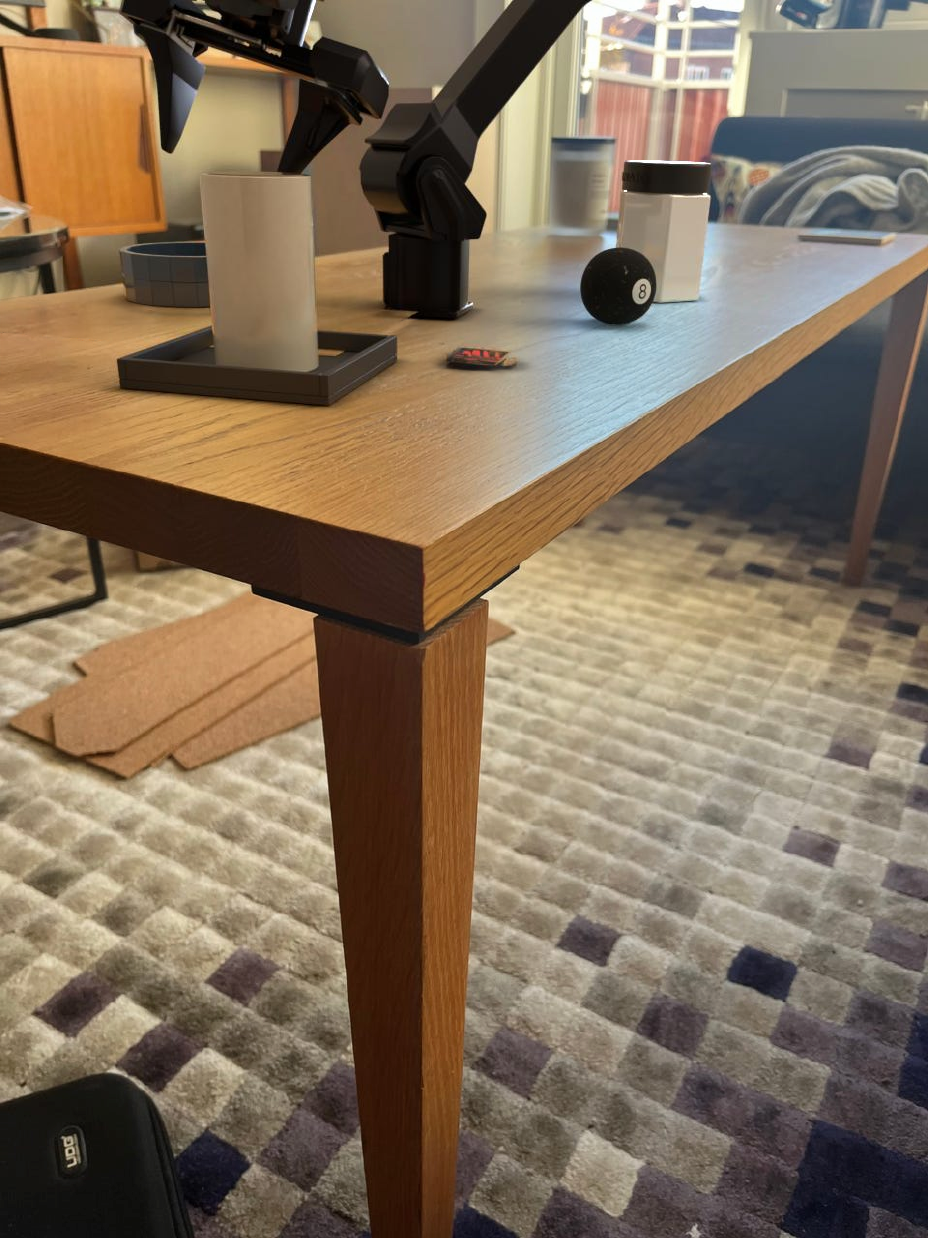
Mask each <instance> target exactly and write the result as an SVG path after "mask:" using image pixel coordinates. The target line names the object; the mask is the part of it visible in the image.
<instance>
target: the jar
mask: <svg viewBox="0 0 928 1238" xmlns="http://www.w3.org/2000/svg"><path fill="white" fill-rule="evenodd" d="M712 171H713V164H712V163H710V162H698V161H696V162H695V161H675V160H674V161H673V160H672V161H671V160H625V161H624V162H623V170H622V173H621V191H620V195H619V208H618V219H617V220H618V221H617V228H616V241H615V242H616V243H615V248H618V247H622V248H629V249H633V250H635V251H638V252H639V253H641V254H642V255H644V256H645V257H646V258H647V259H648V260H649V261H650V263H651V265H652V266H653V269H654V271H655V275H656V283H657V287H656V294H655V297H654V300H653V303H658V304H659V303H660V304H661V303H662V304H663V303H677V302H693V301H694V302H695V301H697V300H699V298H700V297H699V296H700V288H701V282H702V281H701V280H702V271H703V263H704V257H705V256H704V255H705V248H706V247H705V246H706V245H705V244H706V239H707V232H708V231H707V230H708V222H709V214H710V206H711V199H712V197H711V195H710V194H709V193H710V186H711V179H712V177H711V176H712Z"/></svg>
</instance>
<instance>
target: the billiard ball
mask: <svg viewBox="0 0 928 1238" xmlns="http://www.w3.org/2000/svg"><path fill="white" fill-rule="evenodd" d="M656 287H657V283H656V275H655V271H654V269H653V266H652V265H651V263H650V261H649V260H648V259H647V258H646V257H645V256H644V255H642V254H641V253H639V252H638V251H635V250H633V249H629V248H622V247H618V248H616V247H611V248H607V249H604V250H602V251H600V252H599V253H597V254H595V255H594V256H593V257H592V258H591V259H590V260H589V261H588V263H587V264H586V265H585V267H584V270H583V272H582V274H581V278H580V283H579V291H580V297H581V302H582V304H583V306H584V308H585V310H586V311H587V313H588V314H589V315H590V316H591V317H592V318H593V319H595V320H596V321H598V322H600V323H603V324H606V325H610V326H624V325H628V324H631V323H634V322H636V321H638V320H639V319H642V317H643V316H645V314H646V313H647V312H648V311H649V310H650V308H651V306H652V304H653V303H654V302H653V300H654V297H655V294H656Z"/></svg>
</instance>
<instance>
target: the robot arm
mask: <svg viewBox="0 0 928 1238" xmlns="http://www.w3.org/2000/svg"><path fill="white" fill-rule="evenodd" d="M197 1H198V0H121V2H120V5H119V10H118V13H119V15H120V16H122V17H123V18H124V19H126V20H127V21H128V22H129V23H130V24H132V29H133V33H134V35H135V36H136V37H137V38H139V39H140V40H142V42H144V43H145V45H146V47H147V49H148V53H149V54H150V57H151V61H152V64H153V70H154V75H155V81H156V82H155V83H156V90H157V93H156V94H157V109H158V123H159V138H160V148H161V150H162V151H164V152H165V153H167V154H170V155H172V154H173V153H174V151H175V150H176V147H177V145H178V143H179V141H180V140H181V138H182V135H183V132H184V130H185V127H186V124H187V121H188V118H189V116H190V113H191V110H192V108H193V104H194V102H195V99H196V96H197V94H198V91H199V88H200V86H201V82H202V80H203V77H204V74H205V71H206V67H207V66H205V65H204V64H202V62H201V61H199V60H198V59H197V58H198V57H200V56H201V55H202V54H204V53H206V52H207V51H208V50H209V48H212V49H215V50H218V51H220V52H224V53H226V54H230V55H233V56H236V57H238V58H242V59H244V60H247V61H251V62H253V63H256V64H260V65H262V66H265V67H269V68H271V69H274V70H278V71H281V72H283V73H287V74H290V75H293V76H296V77H299V80H298V95H297V96H298V100H297V110H296V114H295V116H294V120H293V123H292V125H291V128H290V130H289V134H288V137H287V140H286V143H285V145H284V147H283V148H284V149H283V151H282V153H281V154H282V155H281V157H280V160H279V164H278V166H277V169H276V170H277V171H276V172H285V173H299V174H303V172H304V171H305V169H306V168H307V167H309V165H310V164H311V163H312V161H313V160H314V159H315V158H316V157H317V156H318V154H319V153H320V152H322V150H324V148H326V146H328V144H330V143H331V142H332V141H333V140H335V138H337V137H338V136H339V135H340V134H341V133H342V132H343V131H344V130H345V129H346V128H347V127H348V126H350V125H353V126H357V127H358V126H359V127H360V126H362V124H363V120H364V118H363V117H362V115H364V116H367V117H370V118H372V119H374V120H375V119H376V120H382V119H383V115H384V112H385V110H386V105H387V102H388V99H389V96H390V84H389V80H388V79H387V76H386V74H385V73H384V72H383V70H382V69H381V67H380V66H379V65H378V63H377V62H376V61H375V60H374V58H373V57H372V56H371V54H370V53H369V51H368V50H366V49H362V48H359V47H357V46H353V45H350V44H347V43H344V42H341V41H338V40H335V39H332V38H329V37H326V36H323V35H322V36H320V38H319V39H318V40H316V41H315V43H313V45H312V48H311V45H310V44H309V43H308V42H307V41H306V40H305V38H306V35H307V31H308V28H309V24H310V22H311V17H312V14H313V11H314V8H315V5H316V2H317V1H318V2H320V3H321V2H322V3H325V0H202V1H203V2H204V4H205V5H206V6H207V7H208V8H209V9H210V10H212V11H213V12H215V13H218V14H219V15H220V18H216V17H214V16H211V15H209V14H207V13H206V12H205V11H203V9H201V8H200V7H199V6H198V5H197V4H196V3H195V2H197ZM592 1H593V0H511V1H510V3H509V4H508V5H507V6H506V8H505V9H504V10H503V12H502V13H501V14H500V16H498V18H497V19H496V20H495V21H494V23H493V24H492V25H491V27H490V28H489V29H487V31H486V33H485V34H484V35H483V37H482V38H481V39H480V40H479V41H478V43H477V44H476V46H475V47H474V48H473V49H472V50H471V52H470V53H469V54H468V55H467V57H466V58H465V59H464V61H463V62H462V63H461V64H460V66H459V67H458V68H457V69H456V71H455V72H454V73H453V74H452V75H451V77H450V78H449V79H448V80H447V82H446V83H445V84H444V86H442V88H441V89H440V90H439V92H438V93H437V94H436V96H435V97H434V98H433V99H432V100H431V101H429V102H397V103H395V104H394V105H393V106H392V108H391V109H390V110H389V112H387V115H386V116H385V118H384V120H383V122H382V124H381V126H380V127H379V128H378V129H377V130H376V131H375V132H374V133H373V134H371V135H369V136H367V137H365V138H364V141H363V142H364V143H365V144H366V145H369V147H368V148H367V149H366V151H365V152H364V154H363V156H362V157H361V159H360V163H359V166H358V170H359V173H360V174H359V175H360V176H359V177H360V179H359V180H360V186H361V188H362V189H361V190H362V193H363V196H364V197H365V199H366V200H367V202H368V204H369V205H370V206H371V207H373V209H374V210H373V211H374V213H375V216H376V219H377V222H378V225H379V226H378V227H379V229H380V230H381V232H383V233H391V234H388V245H387V246H388V251H385V252H384V253H383V254H382V302H383V304H384V305H386V306H383V307H382V310H386V311H387V310H389V311H390V310H391V311H402V312H403V311H405V312H415V313H413V314H411V316H413V317H415V316H416V317H430V318H445V319H457V318H459V317H460V316H462V315H464V314H465V313H467V312H469V311H470V310H472V309H473V308H474V302H473V301H469V280H470V279H469V277H470V241H472V240H480V238H481V236H482V233H483V230H484V226H485V223H486V220H487V217H488V216H487V215H488V214H487V211H486V209H485V208H484V207H483V206H482V204H481V203H480V202H479V201H478V199H477V198H476V197H475V195H474V194H473V192H472V191H471V190H470V188H469V187H468V186H467V185H466V183H467V181H468V180H469V178H470V176H471V174H472V172H473V169H474V165H475V164H474V163H475V160H476V154H477V149H478V145H479V141H480V139H481V137H482V136H483V134H484V133H485V132H486V130H487V129H488V128H489V126H490V125H491V124H492V123H493V122H494V120H495V119H496V118H497V117H498V115H499V114H500V113H501V111H502V110H503V109H504V107H505V106H507V104H508V102H509V101H510V100H511V99H512V97H513V96H515V94H516V93H517V91H518V90H519V88H521V86H522V85H523V84H524V83H525V81H526V79H527V78H528V77H529V76H530V75H531V74H532V72H533V71H534V70H535V69H536V67H537V66H538V64H539V63H540V62H541V61H542V60H543V59H544V57H545V56H546V54H547V53H548V52H549V51H550V49H551V48H552V47H553V46H554V45H555V43H556V42H557V41H558V39H559V38H560V37H561V35H562V34H563V33H564V32H565V30H566V29H567V28H568V27H569V26H570V24H571V23H572V22H573V21H574V19H575V18H576V16H577V15H578V14H579V13H580V12H581V10H582V9H583V8H584V7H585V6H586V5H587V4H589V3H590V2H592ZM237 41H238V42H237ZM240 42H242V43H240ZM244 43H245V44H244ZM267 50H271V51H274V52H277V53H280V56H279V55H278V54H277V53H275V54H274V53H273V52H269V51H267Z"/></svg>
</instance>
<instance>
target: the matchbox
mask: <svg viewBox="0 0 928 1238" xmlns="http://www.w3.org/2000/svg"><path fill="white" fill-rule="evenodd" d="M509 354H512V350H508V349H507V350H501V349H495V348H486V347H483V346H481V347H472V346H471V347H468V346H457V347H456V349H453V351H451V352H450V353H449V354H448V353H447V354H446V362H450V363H457V364H469V365H477V366H496V365H497V366H502V367H508V366H509V367H510V366H516V365H517V363H518V360H517V359H516V357H512V358H508V357H509V356H510V355H509ZM501 362H502V364H500V365H499V363H501ZM459 367H461V368H463V367H464V366H463V365H462V366H460V365H459Z"/></svg>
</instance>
